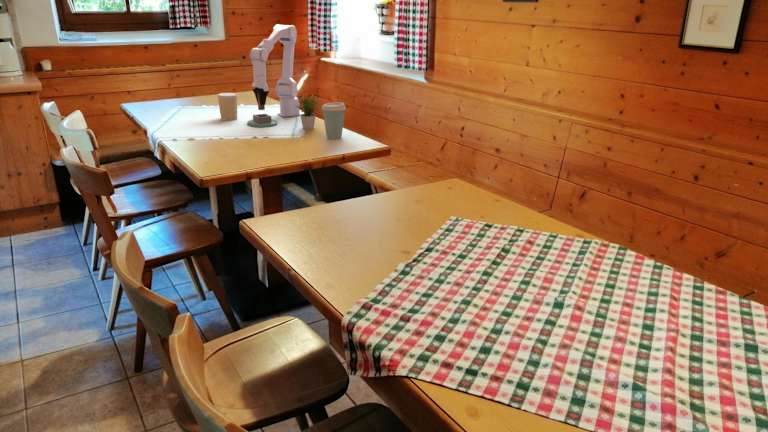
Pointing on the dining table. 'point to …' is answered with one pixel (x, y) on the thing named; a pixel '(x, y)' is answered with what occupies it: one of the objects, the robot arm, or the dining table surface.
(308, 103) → the house plant
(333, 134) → the disposable coffee cup
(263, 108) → the walnut peg
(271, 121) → the candle dish
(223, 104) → the coffee cup
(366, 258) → the dining table surface
